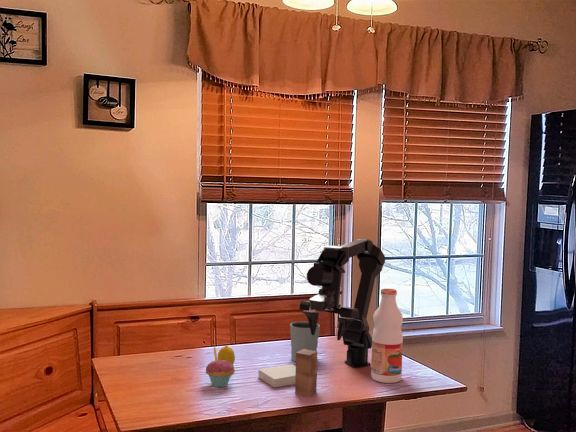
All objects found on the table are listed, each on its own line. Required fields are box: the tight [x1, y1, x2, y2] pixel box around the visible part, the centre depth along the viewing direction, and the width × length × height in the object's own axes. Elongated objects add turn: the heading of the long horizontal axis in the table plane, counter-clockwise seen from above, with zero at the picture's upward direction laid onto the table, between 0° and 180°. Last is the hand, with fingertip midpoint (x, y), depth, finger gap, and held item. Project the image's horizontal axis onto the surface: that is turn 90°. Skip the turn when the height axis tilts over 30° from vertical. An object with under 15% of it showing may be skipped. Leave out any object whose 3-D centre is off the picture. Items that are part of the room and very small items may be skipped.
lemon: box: [217, 345, 236, 365], centre depth 187 cm, size 6×6×8 cm
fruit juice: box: [370, 288, 404, 384], centre depth 182 cm, size 9×9×28 cm
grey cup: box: [289, 320, 321, 362], centre depth 201 cm, size 10×10×12 cm
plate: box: [258, 363, 296, 388], centre depth 180 cm, size 12×10×2 cm
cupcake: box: [205, 345, 236, 388], centre depth 174 cm, size 9×8×12 cm
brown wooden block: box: [294, 349, 318, 398], centre depth 168 cm, size 4×4×12 cm
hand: (325, 337), depth 179 cm, fingers open, 9 cm apart
